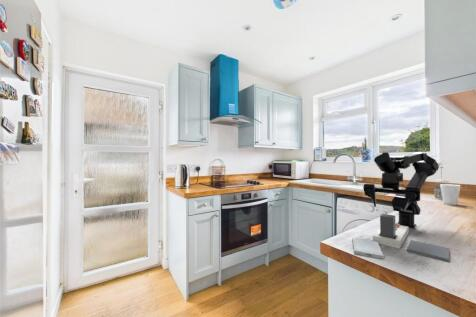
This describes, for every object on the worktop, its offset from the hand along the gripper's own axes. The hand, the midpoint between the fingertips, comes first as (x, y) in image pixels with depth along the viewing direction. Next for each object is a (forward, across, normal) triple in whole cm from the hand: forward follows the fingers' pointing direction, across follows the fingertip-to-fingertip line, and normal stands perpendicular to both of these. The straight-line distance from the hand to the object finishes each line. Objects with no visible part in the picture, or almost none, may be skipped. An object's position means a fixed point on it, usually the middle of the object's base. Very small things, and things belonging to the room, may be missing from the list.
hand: (388, 208), depth 80 cm
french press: (-76, +21, +92) cm, 121 cm away
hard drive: (+21, -5, -3) cm, 22 cm away
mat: (+12, +11, +5) cm, 17 cm away
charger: (+12, 0, +5) cm, 13 cm away
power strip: (+6, +1, +10) cm, 12 cm away
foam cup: (-63, +25, +79) cm, 104 cm away
